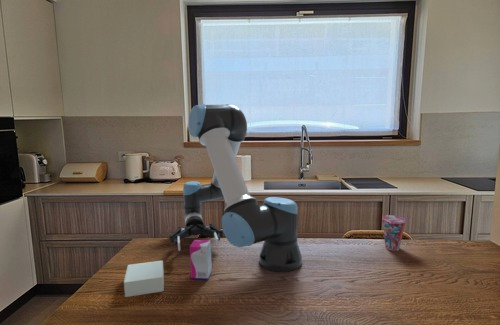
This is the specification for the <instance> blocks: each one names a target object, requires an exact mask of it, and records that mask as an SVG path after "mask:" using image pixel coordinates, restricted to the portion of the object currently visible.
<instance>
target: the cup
mask: <svg viewBox="0 0 500 325" xmlns="http://www.w3.org/2000/svg"><path fill="white" fill-rule="evenodd" d="M406 222H407V219H406V218H405V217H402V216H399V215H394V214H386V215H383V216H382V225H383V238H384V247H385V249H386V250H388V251H392V252H397V251H399V250H400V247H401V243H402V240H403V236H404V235H403V234H404V230H405V227H406V226H405V225H406Z"/></svg>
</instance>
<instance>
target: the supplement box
mask: <svg viewBox="0 0 500 325" xmlns="http://www.w3.org/2000/svg"><path fill="white" fill-rule="evenodd" d="M211 245H212V243H211V239H194V240H193V241H192V243H191V244H189V256H190V258H189V259H190V276H191V280H198V281H199V280H201V281H204V280H206V281H208V280H209V279H210V276H211V274H212V273H213V270H212V269H213V268H212V267H213V266H212V247H211Z"/></svg>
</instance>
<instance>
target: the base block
mask: <svg viewBox="0 0 500 325" xmlns="http://www.w3.org/2000/svg"><path fill="white" fill-rule="evenodd" d="M164 272H165V271H164V260H157V261H156V260H155V261H148V262H140V263H133V264H127V268H126V272H125V275H124V280H123V287H124V288H123V290H124V297H125V298H128V297H133V296H134V297H135V296H140V295H141V296H142V295H148V294H154V293H160V292H164V290H165V288H164V286H165V285H164V274H165V273H164Z"/></svg>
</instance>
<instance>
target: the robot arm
mask: <svg viewBox="0 0 500 325" xmlns="http://www.w3.org/2000/svg"><path fill="white" fill-rule="evenodd" d="M188 115H189V116H188V131H189V134H190V136H191V137H193V138H198V141H199V143H200V144H201V145H202V146H204V147H205V148H206V151H207V154H208V157H209V159H210V162H211V165H212V168H213V170H214V171H213V175H212V178H211V182H210V183H206V184H201V182H199V181H197V180H196V181H195V180H191V181H186V182H184V184H183V186H182V187H183V188H182V196H183V217H184V224H185V227H184V228H183V227H182V226H178V227H177V229H176V230H174V231H173V232H172V233H171V234H170V235H169V243H174V246H177V251H179V252H180V251H181V241H182V240H184V239H186V238H190V237H191V236H200V235H201V236H203V237H204V236H208V237H211V238H213V239H214V242H215V247H219V241H220V240H221V238H224V236H225V238H226V240H227V241H228V242H229V243H230V244H231V245H232V246H234V247H235V248H243V247H250V246H252V245H254V244H259V243H261V242H263V243H262V246H261V250H260V252H259V264H260V265H261V267H263V268H264V269H266V270H269V271H273V272H279V273H280V272H285V273H287V272H292V271H295V270H297V269H299V268H300V267H301V265H302V264H303V263H302V261H303V256H302V253H301V250H300V246H299V244H298V218H299V215H298V214H299V213H298V204H297V203H296V201H295V200H292V199H289V198H286V197H285V198H284V197H277V196H269V197H265V198H264V199H263V204H261V205H259V203H258V200H257V198H256V197H254V196H252V195H250V192H249V190H248V186H247V185H246V182H245V179H244V177H243V174H242V171H241V169H240V166H239V164H238V161H237V156H238V152H239V150H240V147H241V143H243V142H244V141H245V138H246V137H247V136H246V135H247V131H248V123H247V122H248V121H247V119H246V118H247V117H246V116H245V114H244V112H243V111H242V109H240V108H239V107H237V106H236V105H234V104H230V103H229V104H205V103H203V104H196V105H193V107H192V108H191V110H190V112H189V114H188ZM219 199H224V202H225V207H224V209H223V213H224V214H223V215H222V217H221V224H222V225H221V228H222V229H220V228H218V226H217V227H216V226H215V225H213V223H210V224H208V225H205V223H204V218H203V216H202V202H206V201H207V202H208V201H213V200H219Z"/></svg>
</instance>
